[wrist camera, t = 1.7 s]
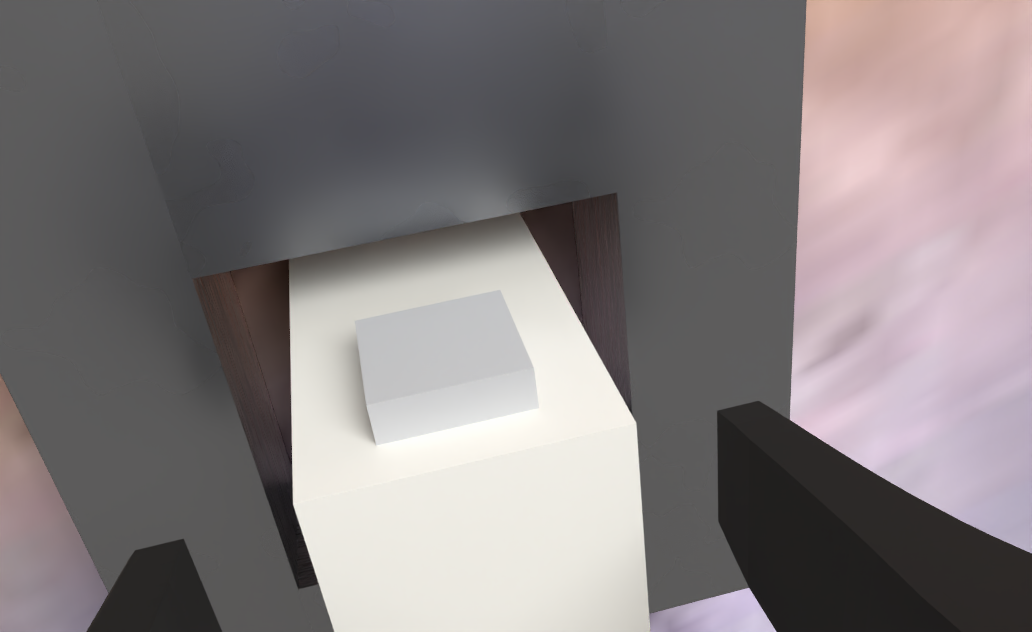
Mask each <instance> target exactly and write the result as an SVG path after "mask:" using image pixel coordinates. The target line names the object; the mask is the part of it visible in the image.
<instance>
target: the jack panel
mask: <svg viewBox="0 0 1032 632" xmlns="http://www.w3.org/2000/svg"><path fill="white" fill-rule="evenodd" d="M805 23H806V0H0V374H1V376H2V378H3V380H4V382H5V384H6V386H7V388H8V390H9V392H10V394H11V396H12V398H13V400H14V402H15V404H16V406H17V408H18V410H19V412H20V414H21V416H22V418H23V420H24V422H25V424H26V426H27V428H28V430H29V432H30V434H31V436H32V438H33V441H34V443H35V445H36V447H37V449H38V451H39V453H40V455H41V457H42V459H43V461H44V463H45V465H46V467H47V469H48V471H49V473H50V475H51V477H52V479H53V481H54V483H55V485H56V487H57V489H58V491H59V493H60V495H61V497H62V499H63V501H64V503H65V505H66V507H67V510H68V512H69V514H70V516H71V518H72V520H73V522H74V524H75V526H76V528H77V530H78V532H79V534H80V536H81V538H82V540H83V542H84V544H85V546H86V548H87V550H88V552H89V554H90V556H91V558H92V560H93V562H94V564H95V566H96V568H97V570H98V572H99V574H100V577H101V579H102V581H103V583H104V585H105V587H106V589H107V591H108V593H109V592H110V591H111V589H112V587H113V585H114V584H115V582H116V580H117V578H118V577H119V575H120V573H121V571H122V570H123V568H124V566H125V565H126V563H127V561H128V560H129V558H130V557H131V555H132V554H133V552H134V551H135V550H138V549H142V548H146V547H151V546H155V545H159V544H163V543H167V542H171V541H176V540H180V539H184V541H185V543H186V545H187V548H188V550H189V553H190V555H191V557H192V560H193V562H194V565H195V567H196V570H197V572H198V574H199V577H200V579H201V582H202V584H203V586H204V589H205V591H206V594H207V596H208V598H209V601H210V603H211V606H212V608H213V611H214V613H215V615H216V618H217V620H218V623H219V625H220V627H221V630H222V632H334V629H333V626H332V623H331V620H330V617H329V614H328V611H327V607H326V604H325V601H324V598H323V595H322V592H321V589H320V586H319V583H318V580H317V577H316V574H315V570H314V567H313V564H312V561H311V558H310V555H309V552H308V549H307V546H306V543H305V540H304V537H303V533H302V530H301V527H300V524H299V521H298V518H297V515H296V512H295V509H294V506H293V474H292V466H291V463H290V460H289V457H288V453H287V450H286V447H285V444H284V441H283V438H282V435H281V431H280V428H279V425H278V422H277V419H276V416H275V412H274V409H273V406H272V403H271V400H270V397H269V393H268V390H267V387H266V384H265V381H264V378H263V374H262V371H261V368H260V365H259V362H258V359H257V355H256V352H255V349H254V346H253V343H252V340H251V337H250V333H249V330H248V327H247V324H246V321H245V318H244V314H243V311H242V308H241V305H240V302H239V299H238V295H237V292H236V289H235V286H234V283H233V280H232V276H231V273H230V271H233V270H238V269H243V268H248V267H252V266H257V265H262V264H267V263H272V262H277V261H282V260H287V259H292V258H297V257H302V256H307V255H312V254H316V253H321V252H326V251H331V250H336V249H341V248H346V247H351V246H356V245H361V244H366V243H371V242H376V241H380V240H385V239H390V238H395V237H400V236H405V235H410V234H415V233H420V232H425V231H430V230H435V229H440V228H445V227H449V226H454V225H459V224H464V223H469V222H474V221H479V220H484V219H489V218H494V217H499V216H504V215H509V214H513V213H518V212H523V211H528V210H533V209H538V208H543V207H548V206H553V205H558V204H563V203H568V202H572V208H573V219H574V229H575V239H576V250H577V260H578V270H579V281H580V291H581V302H582V312H583V322H584V330H585V332H586V333H587V335H588V337H589V339H590V341H591V342H592V344H593V346H594V348H595V350H596V351H597V353H598V355H599V357H600V359H601V360H602V362H603V364H604V366H605V368H606V369H607V371H608V373H609V375H610V377H611V378H612V380H613V382H614V384H615V386H616V387H617V389H618V391H619V393H620V395H621V396H622V398H623V400H624V402H625V404H626V405H627V407H628V409H629V411H630V413H631V414H632V416H633V418H634V420H635V422H636V425H637V440H638V455H639V470H640V485H641V500H642V515H643V530H644V545H645V560H646V575H647V590H648V606H649V614H650V613H654V612H658V611H661V610H665V609H669V608H673V607H677V606H680V605H684V604H688V603H692V602H696V601H699V600H703V599H707V598H711V597H715V596H719V595H722V594H726V593H730V592H734V591H738V590H741V589H745V588H749V586H748V584H747V582H746V580H745V578H744V576H743V574H742V572H741V570H740V568H739V566H738V564H737V562H736V559H735V557H734V555H733V553H732V551H731V549H730V546H729V544H728V542H727V540H726V537H725V535H724V533H723V531H722V529H721V526H720V524H719V522H718V453H717V411H718V410H722V409H726V408H730V407H734V406H738V405H743V404H747V403H751V402H755V401H760V402H762V403H764V404H765V405H767V406H768V407H770V408H772V409H773V410H775V411H776V412H778V413H780V414H781V415H783V416H784V417H786V418H787V419H789V420H790V396H791V372H792V347H793V322H794V297H795V272H796V247H797V222H798V197H799V173H800V148H801V123H802V98H803V73H804V48H805Z"/></svg>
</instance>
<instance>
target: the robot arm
mask: <svg viewBox="0 0 1032 632" xmlns="http://www.w3.org/2000/svg"><path fill="white" fill-rule="evenodd" d="M717 453H718V522H719V524H720V526H721V529H722V531H723V533H724V535H725V537H726V540H727V542H728V544H729V546H730V549H731V551H732V553H733V555H734V557H735V559H736V562H737V564H738V566H739V568H740V570H741V572H742V574H743V576H744V578H745V580H746V582H747V584H748V586H749V588H750V589H751V591H752V593H753V594H754V596H755V598H756V599H757V601H758V603H759V604H760V606H761V607H762V609H763V611H764V612H765V614H766V615H767V617H768V619H769V620H770V622H771V623H772V625H773V627H774V628H775V630H776V631H777V632H1032V554H1031V553H1029V552H1027V551H1025V550H1022V549H1020V548H1018V547H1016V546H1013V545H1011V544H1009V543H1007V542H1004V541H1002V540H1000V539H998V538H995V537H993V536H991V535H989V534H987V533H985V532H983V531H981V530H978V529H976V528H974V527H972V526H970V525H968V524H966V523H964V522H962V521H960V520H958V519H956V518H954V517H953V516H951V515H949V514H947V513H945V512H943V511H941V510H939V509H937V508H936V507H934V506H932V505H930V504H928V503H926V502H924V501H922V500H920V499H919V498H917V497H915V496H913V495H911V494H910V493H908V492H906V491H904V490H903V489H901V488H899V487H897V486H895V485H894V484H892V483H890V482H889V481H887V480H885V479H883V478H882V477H880V476H878V475H877V474H875V473H873V472H872V471H870V470H868V469H867V468H865V467H863V466H862V465H860V464H858V463H857V462H855V461H853V460H852V459H850V458H849V457H847V456H845V455H844V454H842V453H841V452H839V451H837V450H836V449H834V448H833V447H831V446H829V445H828V444H826V443H825V442H823V441H822V440H820V439H818V438H817V437H815V436H814V435H812V434H811V433H809V432H807V431H806V430H804V429H803V428H801V427H800V426H798V425H797V424H795V423H794V422H792V421H790V420H789V419H787V418H786V417H784V416H783V415H781V414H780V413H778V412H776V411H775V410H773V409H772V408H770V407H768V406H767V405H765V404H764V403H762V402H760V401H755V402H751V403H747V404H743V405H738V406H734V407H730V408H726V409H722V410H718V411H717ZM87 632H222V630H221V627H220V625H219V623H218V620H217V618H216V615H215V613H214V611H213V608H212V606H211V603H210V601H209V598H208V596H207V594H206V591H205V589H204V586H203V584H202V582H201V579H200V577H199V574H198V572H197V570H196V567H195V565H194V562H193V560H192V557H191V555H190V553H189V550H188V548H187V545H186V543H185V541H184V539H180V540H176V541H171V542H167V543H163V544H159V545H155V546H151V547H146V548H142V549H138V550H135V551H134V552H133V554H132V555H131V557H130V558H129V560H128V561H127V563H126V565H125V566H124V568H123V570H122V571H121V573H120V575H119V577H118V578H117V580H116V582H115V584H114V585H113V587H112V589H111V591H110V592H109V594H108V596H107V598H106V599H105V601H104V603H103V604H102V606H101V608H100V610H99V611H98V613H97V615H96V617H95V618H94V620H93V622H92V623H91V625H90V627H89V628H88V630H87Z"/></svg>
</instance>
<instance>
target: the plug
mask: <svg viewBox="0 0 1032 632" xmlns="http://www.w3.org/2000/svg"><path fill="white" fill-rule="evenodd" d="M289 296H290V356H291V415H292V474H293V506H294V509H295V512H296V515H297V518H298V521H299V524H300V527H301V530H302V533H303V537H304V540H305V543H306V546H307V549H308V552H309V555H310V558H311V561H312V564H313V567H314V570H315V574H316V577H317V580H318V583H319V586H320V589H321V592H322V595H323V598H324V601H325V604H326V607H327V611H328V614H329V617H330V620H331V623H332V626H333V629H334V632H650V621H649V606H648V590H647V575H646V560H645V545H644V530H643V515H642V500H641V485H640V470H639V455H638V440H637V425H636V422H635V420H634V418H633V416H632V414H631V413H630V411H629V409H628V407H627V405H626V404H625V402H624V400H623V398H622V396H621V395H620V393H619V391H618V389H617V387H616V386H615V384H614V382H613V380H612V378H611V377H610V375H609V373H608V371H607V369H606V368H605V366H604V364H603V362H602V360H601V359H600V357H599V355H598V353H597V351H596V350H595V348H594V346H593V344H592V342H591V341H590V339H589V337H588V335H587V333H586V332H585V330H584V328H583V326H582V324H581V323H580V321H579V319H578V317H577V315H576V314H575V312H574V310H573V308H572V306H571V305H570V303H569V301H568V299H567V297H566V296H565V294H564V292H563V290H562V288H561V287H560V285H559V283H558V281H557V279H556V278H555V276H554V274H553V272H552V270H551V269H550V267H549V265H548V263H547V261H546V260H545V258H544V256H543V254H542V252H541V251H540V249H539V247H538V245H537V243H536V242H535V240H534V238H533V236H532V234H531V233H530V231H529V229H528V227H527V225H526V224H525V222H524V220H523V218H522V216H521V215H520V213H519V212H518V213H513V214H509V215H504V216H499V217H494V218H489V219H484V220H479V221H474V222H469V223H464V224H459V225H454V226H449V227H445V228H440V229H435V230H430V231H425V232H420V233H415V234H410V235H405V236H400V237H395V238H390V239H385V240H380V241H376V242H371V243H366V244H361V245H356V246H351V247H346V248H341V249H336V250H331V251H326V252H321V253H316V254H312V255H307V256H302V257H297V258H292V259H289Z"/></svg>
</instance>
